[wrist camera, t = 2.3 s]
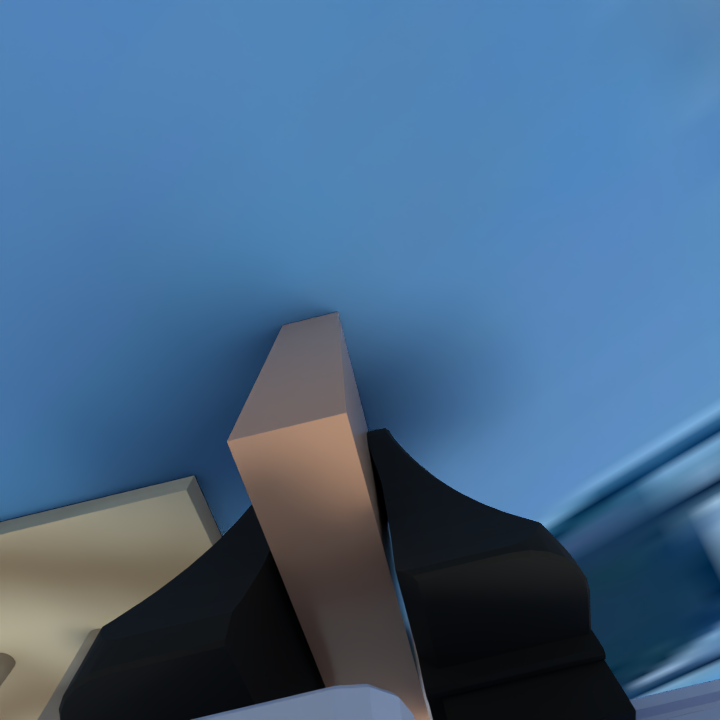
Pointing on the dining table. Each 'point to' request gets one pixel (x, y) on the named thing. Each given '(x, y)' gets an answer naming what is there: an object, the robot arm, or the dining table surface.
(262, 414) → the brown rectangular block
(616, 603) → the dining table surface
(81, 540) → the dish rack
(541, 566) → the robot arm
